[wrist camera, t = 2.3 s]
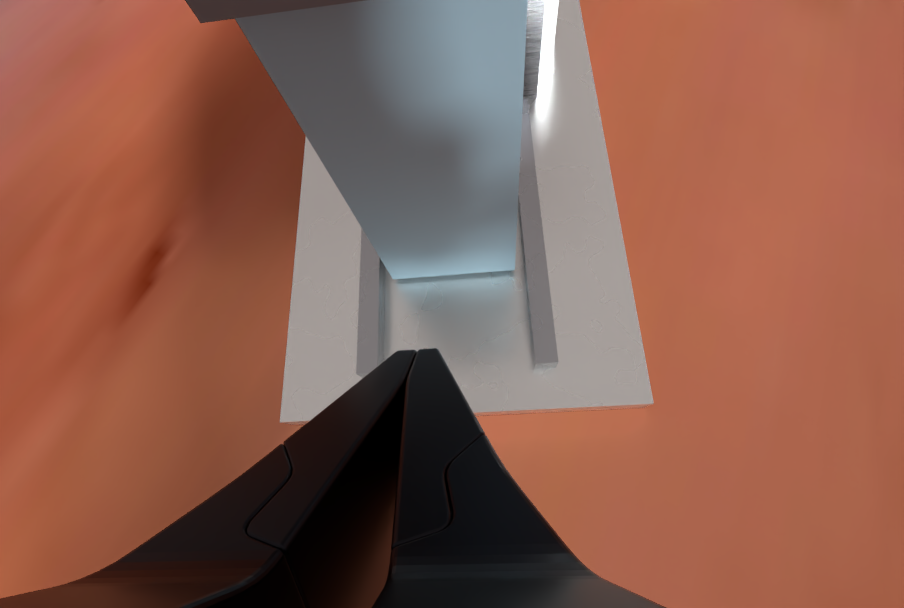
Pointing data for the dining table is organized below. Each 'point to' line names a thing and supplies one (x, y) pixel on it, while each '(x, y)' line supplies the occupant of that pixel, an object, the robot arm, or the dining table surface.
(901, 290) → the dining table surface
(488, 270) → the light blue bar
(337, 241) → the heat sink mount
